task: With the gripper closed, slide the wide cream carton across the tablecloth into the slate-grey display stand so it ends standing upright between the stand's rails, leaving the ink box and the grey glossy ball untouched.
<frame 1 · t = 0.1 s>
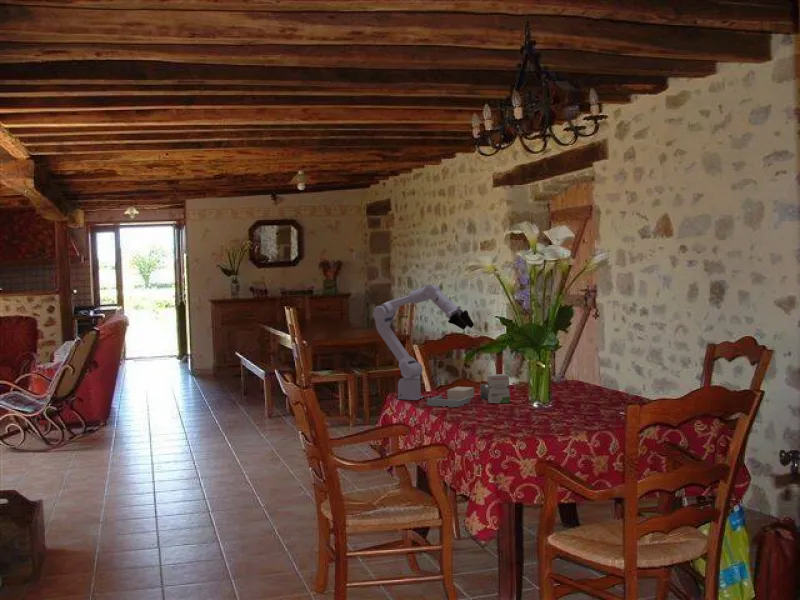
hand: (469, 327, 371), 32 cm above the table, tool tilted 50°, fingers open, 7 cm apart
grey glossy ball: (487, 398, 381), on the table
carton: (460, 400, 380), on the table
ink box: (498, 402, 371), on the table
display stand: (449, 404, 370), on the table
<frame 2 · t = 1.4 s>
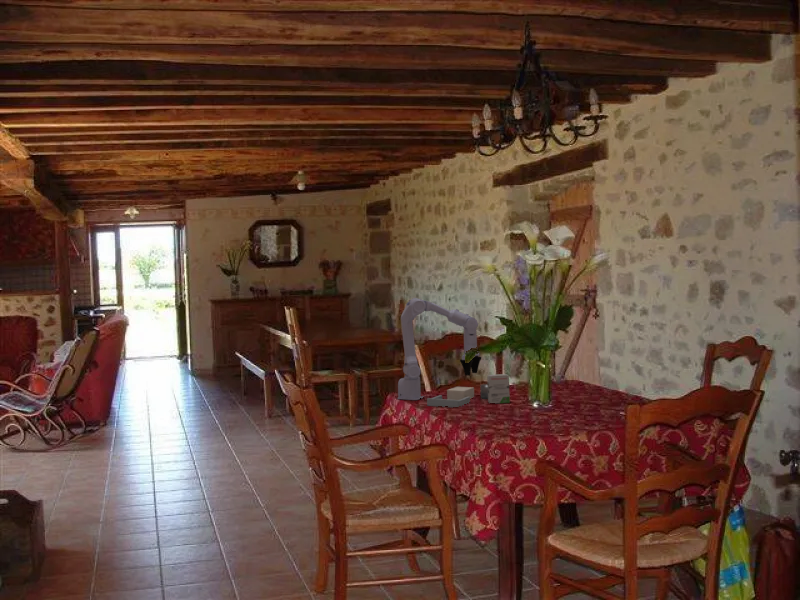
hand: (471, 374, 390), 9 cm above the table, tool pointing down, fingers open, 7 cm apart
nothing on the table moved.
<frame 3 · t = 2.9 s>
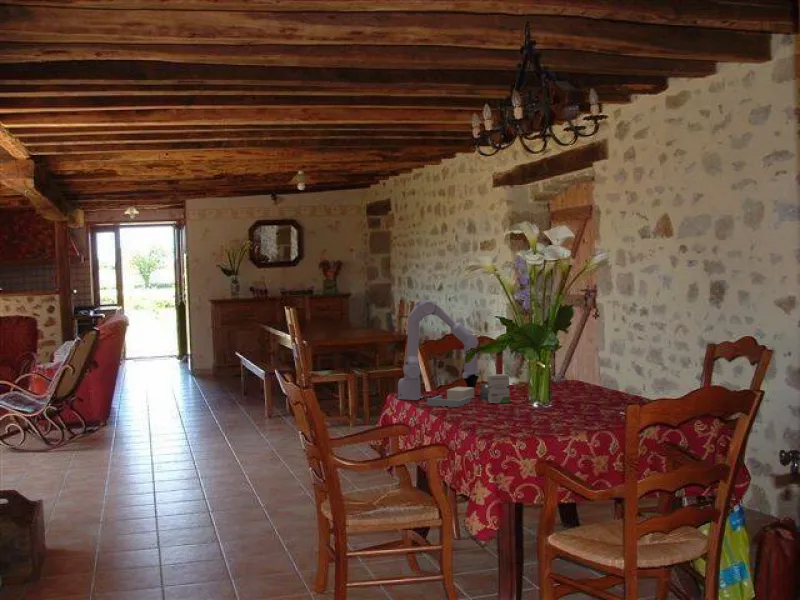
hand: (471, 392, 390), 1 cm above the table, tool pointing down, fingers closed
nothing on the table moved.
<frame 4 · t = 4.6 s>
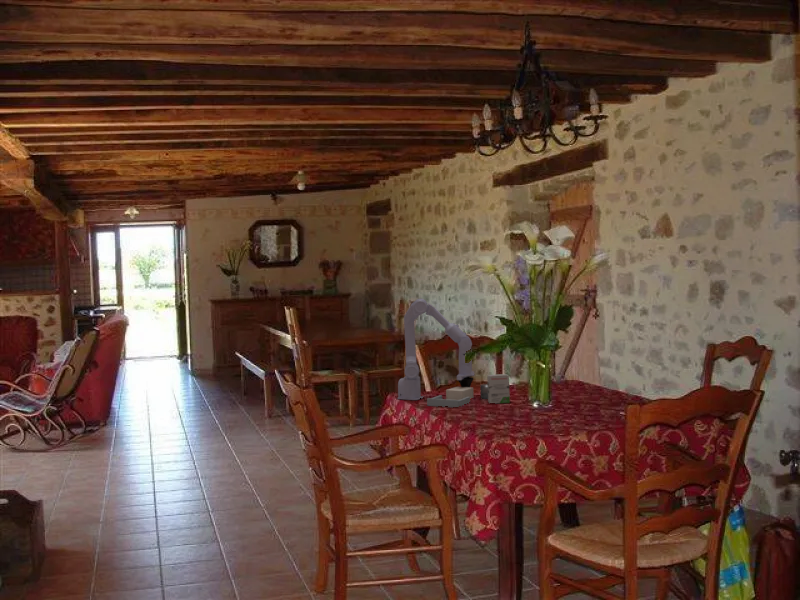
hand: (466, 394, 385), 1 cm above the table, tool pointing down, fingers closed
carton: (460, 400, 379), on the table
everything else where it was.
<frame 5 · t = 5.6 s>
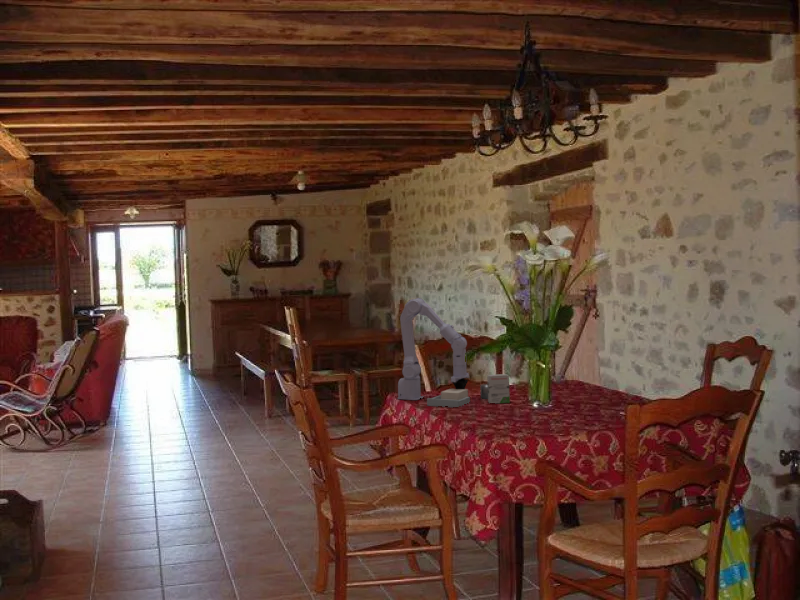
hand: (460, 396, 380), 1 cm above the table, tool pointing down, fingers closed
carton: (454, 402, 374), on the table, touching gripper
everything else where it was.
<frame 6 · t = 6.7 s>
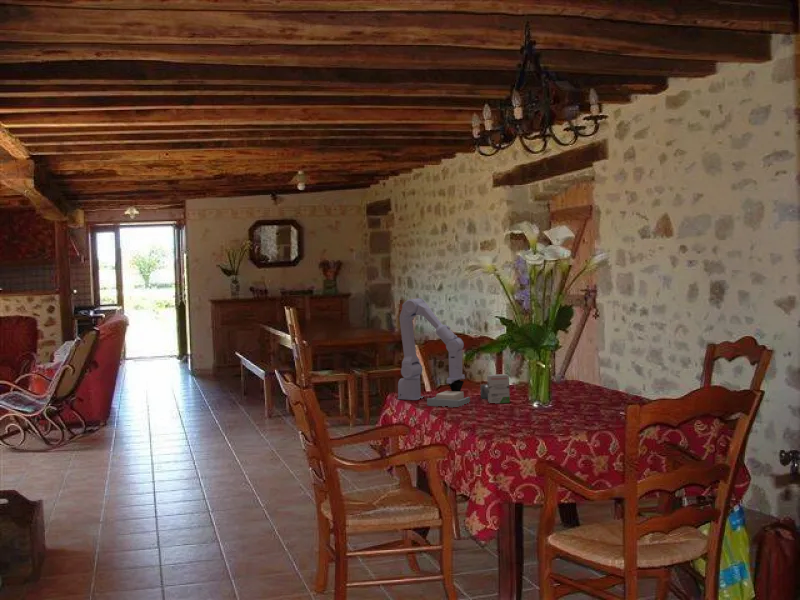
hand: (456, 398, 376), 1 cm above the table, tool pointing down, fingers closed
carton: (450, 404, 370), on the table, touching gripper
everything else where it was.
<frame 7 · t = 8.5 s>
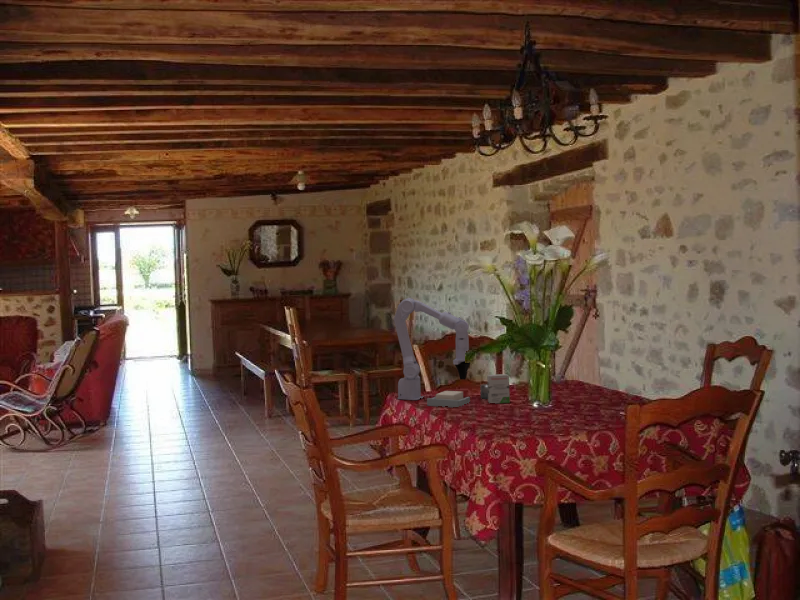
hand: (462, 379, 382), 9 cm above the table, tool pointing down, fingers closed
carton: (449, 404, 370), on the table
everything else where it was.
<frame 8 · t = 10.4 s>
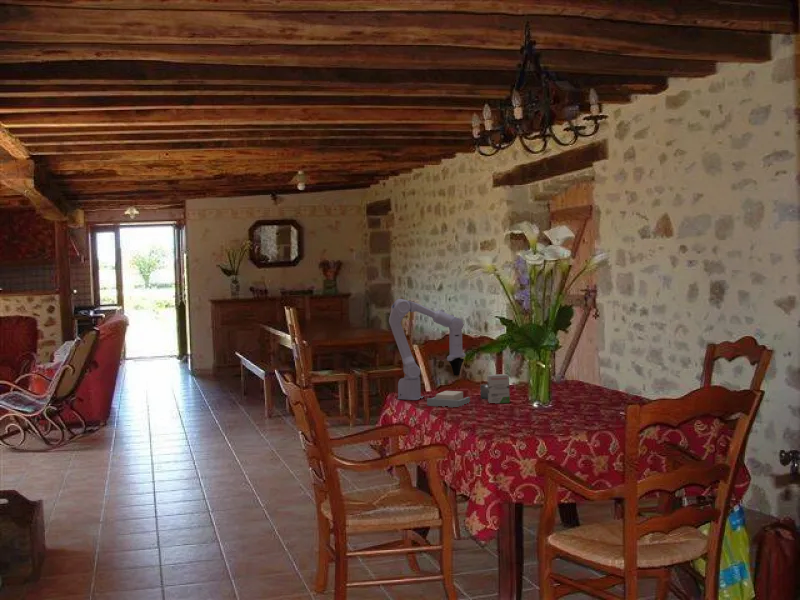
hand: (456, 375, 388), 9 cm above the table, tool pointing down, fingers closed
nothing on the table moved.
at the end: carton inside the target area on the display stand (1.3 cm from its centre), point 0.0 cm above the display stand's base; carton tilted 0° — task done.
